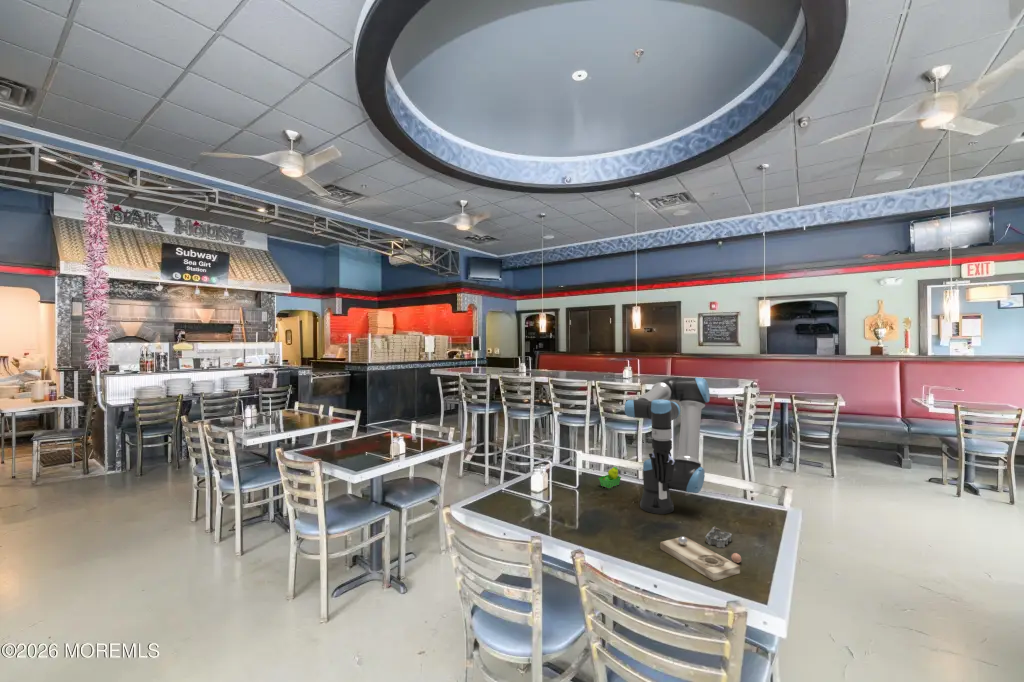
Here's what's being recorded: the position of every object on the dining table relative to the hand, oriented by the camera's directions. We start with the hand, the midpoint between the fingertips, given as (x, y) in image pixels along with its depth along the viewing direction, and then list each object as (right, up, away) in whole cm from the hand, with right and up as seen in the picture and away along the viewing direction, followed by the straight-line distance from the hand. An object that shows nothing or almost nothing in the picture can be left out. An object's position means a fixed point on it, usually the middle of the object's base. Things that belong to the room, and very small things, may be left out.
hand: (663, 498), depth 171 cm
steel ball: (+4, -13, -9) cm, 16 cm away
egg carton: (+22, -17, -2) cm, 27 cm away
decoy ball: (+20, -15, -18) cm, 30 cm away
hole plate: (+7, -17, -16) cm, 24 cm away
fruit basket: (-5, -18, +66) cm, 68 cm away
